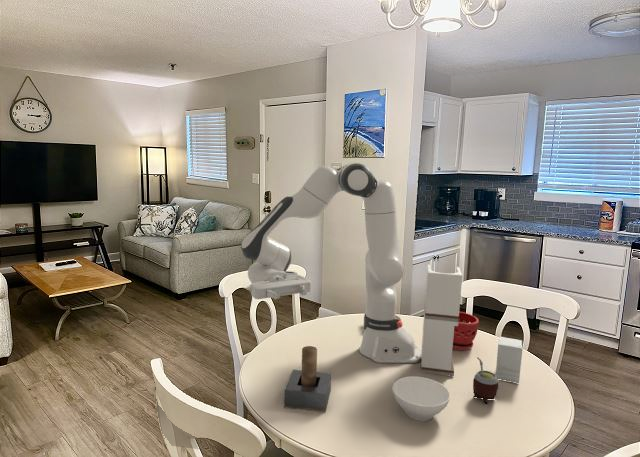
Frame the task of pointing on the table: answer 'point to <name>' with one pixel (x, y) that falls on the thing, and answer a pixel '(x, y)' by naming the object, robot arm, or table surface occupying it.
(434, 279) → the striped white pillar
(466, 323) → the plant pot
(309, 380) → the walnut pin
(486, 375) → the mate gourd
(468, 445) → the table surface
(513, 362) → the supplement box
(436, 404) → the bowl
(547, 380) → the table surface
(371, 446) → the table surface
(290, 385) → the socket block
